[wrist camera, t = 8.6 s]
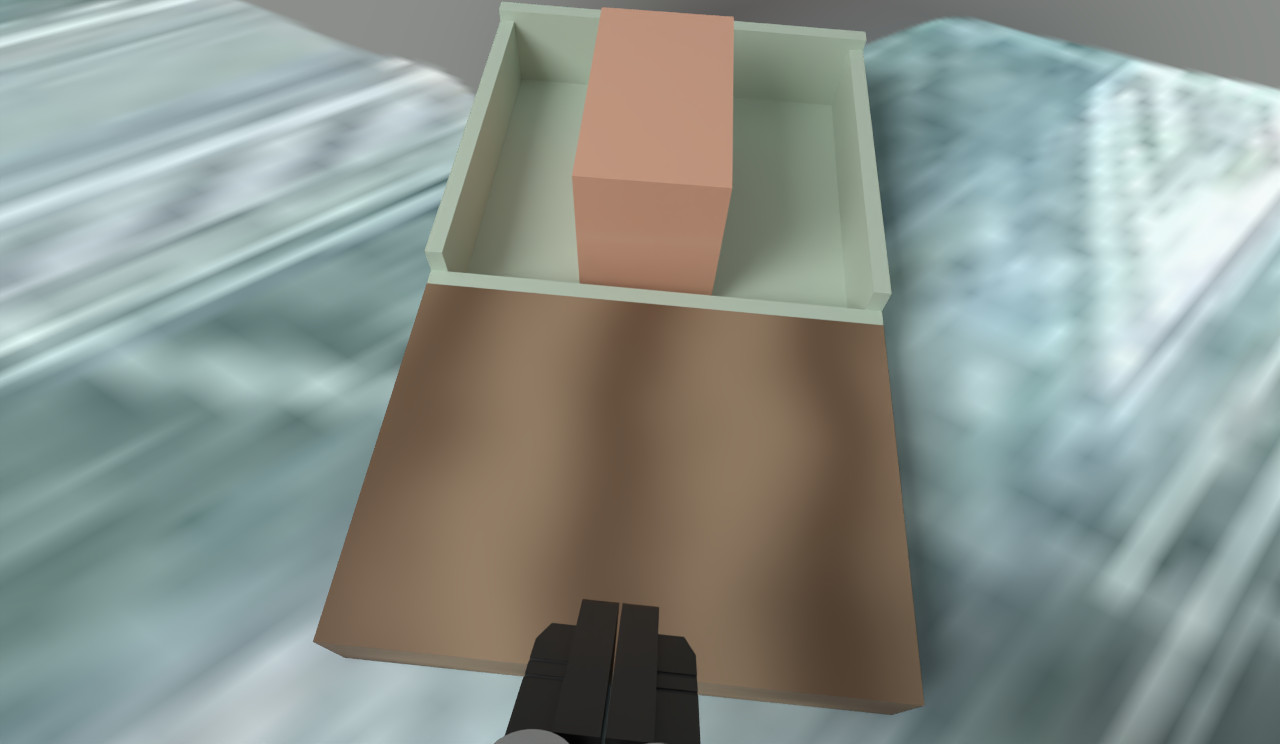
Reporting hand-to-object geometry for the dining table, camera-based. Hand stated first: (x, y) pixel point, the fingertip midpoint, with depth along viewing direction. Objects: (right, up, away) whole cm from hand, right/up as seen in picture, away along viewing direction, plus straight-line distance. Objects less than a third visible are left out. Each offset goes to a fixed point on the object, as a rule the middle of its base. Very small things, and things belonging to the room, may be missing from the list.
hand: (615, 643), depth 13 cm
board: (0, +1, +10) cm, 10 cm away
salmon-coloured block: (+1, +10, +11) cm, 15 cm away
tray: (+2, +12, +17) cm, 21 cm away
